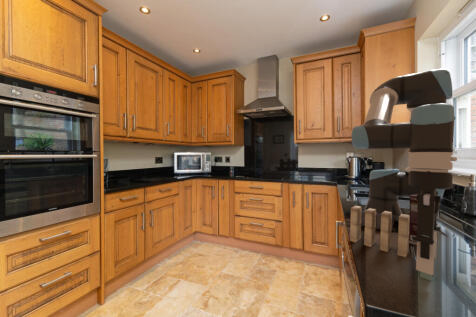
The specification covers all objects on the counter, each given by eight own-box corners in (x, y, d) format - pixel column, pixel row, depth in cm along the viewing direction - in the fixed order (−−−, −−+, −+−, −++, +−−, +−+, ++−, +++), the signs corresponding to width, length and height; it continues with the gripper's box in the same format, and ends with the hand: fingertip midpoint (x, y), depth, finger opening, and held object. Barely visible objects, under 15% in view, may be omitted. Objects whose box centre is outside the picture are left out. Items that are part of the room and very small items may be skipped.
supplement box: (414, 237, 71) (416, 193, 71) (433, 242, 67) (434, 195, 67) (407, 243, 66) (408, 195, 66) (427, 248, 62) (428, 197, 62)
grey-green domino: (422, 269, 50) (423, 225, 50) (432, 272, 48) (433, 227, 48) (420, 277, 46) (421, 230, 46) (430, 280, 45) (432, 232, 45)
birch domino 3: (383, 245, 64) (384, 210, 64) (390, 247, 62) (391, 212, 62) (380, 249, 60) (381, 213, 60) (387, 251, 59) (388, 214, 59)
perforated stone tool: (349, 225, 82) (350, 209, 82) (350, 222, 87) (350, 206, 87) (395, 234, 74) (396, 215, 74) (393, 230, 79) (394, 212, 79)
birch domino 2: (368, 240, 67) (369, 208, 67) (375, 242, 66) (376, 209, 66) (364, 245, 63) (365, 210, 63) (370, 246, 62) (371, 211, 62)
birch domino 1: (354, 237, 70) (355, 205, 70) (360, 238, 69) (361, 206, 69) (349, 240, 67) (350, 207, 66) (355, 242, 65) (356, 209, 65)
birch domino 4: (400, 249, 61) (401, 213, 61) (408, 252, 59) (409, 215, 59) (397, 254, 57) (398, 216, 57) (405, 257, 56) (407, 218, 56)
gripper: (453, 173, 37) (449, 292, 37) (452, 170, 53) (450, 254, 53) (400, 170, 42) (397, 274, 42) (414, 169, 58) (412, 244, 58)
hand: (426, 263), depth 47 cm, fingers open, 11 cm apart
